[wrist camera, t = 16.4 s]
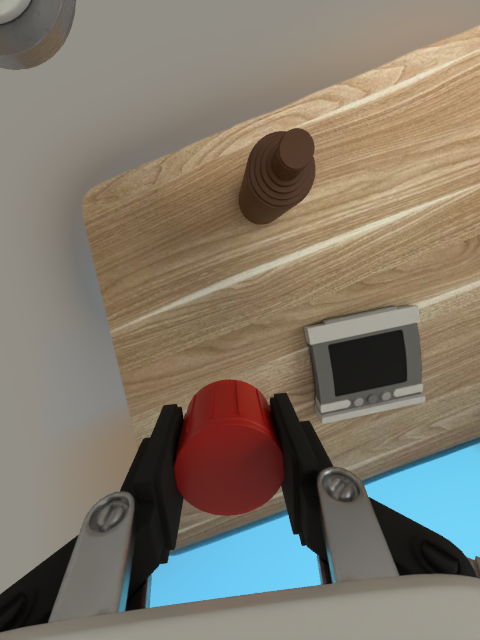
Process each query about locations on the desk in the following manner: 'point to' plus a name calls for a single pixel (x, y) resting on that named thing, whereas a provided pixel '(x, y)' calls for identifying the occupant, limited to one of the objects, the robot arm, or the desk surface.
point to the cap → (228, 450)
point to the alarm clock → (366, 362)
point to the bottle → (277, 175)
